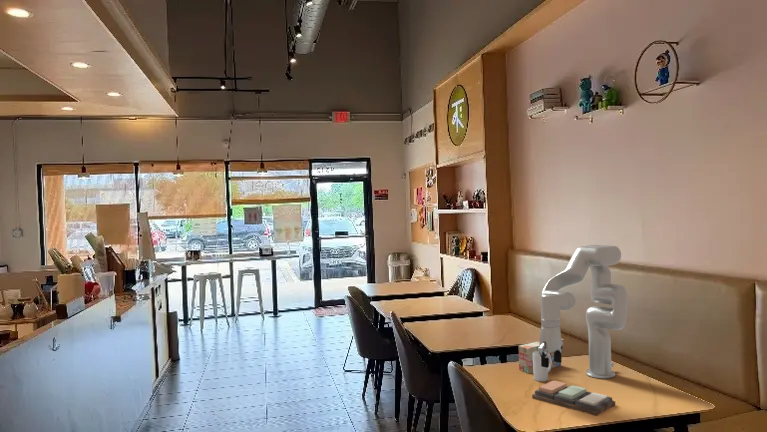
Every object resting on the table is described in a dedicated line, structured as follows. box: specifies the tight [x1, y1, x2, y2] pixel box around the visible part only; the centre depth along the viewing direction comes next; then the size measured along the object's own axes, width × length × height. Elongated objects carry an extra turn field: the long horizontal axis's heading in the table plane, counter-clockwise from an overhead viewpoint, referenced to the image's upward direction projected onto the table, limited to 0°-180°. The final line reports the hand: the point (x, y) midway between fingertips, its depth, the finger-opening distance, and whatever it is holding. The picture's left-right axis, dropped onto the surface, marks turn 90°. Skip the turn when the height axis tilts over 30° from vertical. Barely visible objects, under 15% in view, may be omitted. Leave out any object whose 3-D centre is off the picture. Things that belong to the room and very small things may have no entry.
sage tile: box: [559, 385, 587, 400], centre depth 223 cm, size 11×6×2 cm, turn 132°
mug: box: [532, 351, 552, 382], centre depth 253 cm, size 10×7×12 cm, turn 116°
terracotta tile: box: [538, 380, 567, 394], centre depth 230 cm, size 11×6×2 cm, turn 132°
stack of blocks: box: [518, 341, 562, 374], centre depth 269 cm, size 21×6×12 cm, turn 118°
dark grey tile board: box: [531, 385, 616, 417], centre depth 224 cm, size 15×28×3 cm, turn 42°
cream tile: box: [580, 392, 609, 406], centre depth 217 cm, size 11×6×2 cm, turn 132°
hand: (551, 364), depth 230 cm, fingers open, 9 cm apart
